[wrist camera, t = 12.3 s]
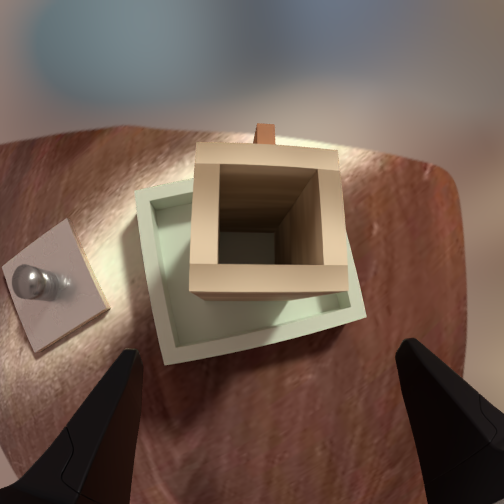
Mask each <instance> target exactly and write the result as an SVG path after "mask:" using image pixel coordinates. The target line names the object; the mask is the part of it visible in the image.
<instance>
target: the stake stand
mask: <svg viewBox="0 0 504 504" xmlns="http://www.w3.org/2000/svg"><path fill="white" fill-rule="evenodd" d="M2 269H3V272H4V275H5V278H6V282H7V285H8V288H9V291H10V293H11V296H12V299H13V302H14V305H15V307H16V310H17V313H18V315H19V318H20V320H21V323H22V325H23V328H24V330H25V332H26V335H27V337H28V339H29V341H30V344H31V346H32V348H33V350H34V352H35V353H36V352H41V351H42V350H44V349H46V348H47V347H49V346H50V345H52V344H54V343H55V342H57V341H58V340H60V339H62V338H63V337H65V336H66V335H68V334H70V333H71V332H73V331H74V330H76V329H78V328H79V327H81V326H82V325H84V324H86V323H87V322H89V321H91V320H92V319H94V318H95V317H97V316H99V315H100V314H102V313H104V312H105V311H107V310H109V309H110V308H111V307H110V305H109V303H108V301H107V299H106V297H105V295H104V293H103V291H102V289H101V287H100V285H99V283H98V281H97V279H96V276H95V274H94V272H93V270H92V268H91V266H90V263H89V261H88V259H87V256H86V254H85V252H84V250H83V247H82V245H81V242H80V240H79V238H78V235H77V233H76V230H75V228H74V225H73V222H72V221H71V220H69V219H68V218H66V219H65V220H63V221H62V222H61V223H59V224H58V225H56V226H55V227H53V228H52V229H51V230H49V231H48V232H46V233H45V234H44V235H42V236H41V237H40V238H38V239H37V240H36V241H34V242H33V243H32V244H30V245H29V246H28V247H26V248H25V249H24V250H22V251H21V252H20V253H19V254H17V255H16V256H15V257H14V258H12V259H11V260H10V261H9V262H7V263H6V264H5V265H4V266H2Z"/></svg>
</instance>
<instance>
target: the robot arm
mask: <svg viewBox="0 0 504 504" xmlns="http://www.w3.org/2000/svg"><path fill="white" fill-rule="evenodd" d="M395 359H396V364H397V369H398V375H399V380H400V385H401V391H402V395H403V399H404V403H405V406H406V410H407V413H408V417H409V421H410V425H411V428H412V432H413V436H414V440H415V444H416V449H417V453H418V457H419V462H420V466H421V471H422V476H423V480H424V484H425V485H424V486H425V491H426V497H427V502H428V504H504V414H503V413H502V412H501V411H500V410H498V409H497V408H496V407H494V406H493V405H492V404H491V403H490V402H489V401H487V400H486V399H485V398H484V397H483V396H482V395H480V394H479V393H478V392H477V391H476V390H475V389H474V388H473V387H472V386H470V385H469V384H468V383H467V382H466V381H465V380H464V379H462V378H461V377H460V376H459V375H458V374H457V373H456V372H454V371H453V370H452V369H451V368H450V367H449V366H447V365H446V364H445V363H444V362H443V361H442V360H440V359H439V358H438V357H437V356H436V355H435V354H433V353H432V352H431V351H430V350H429V349H427V348H426V347H425V346H424V345H423V344H422V343H420V342H419V341H418V340H417V339H415V338H407V339H404V340H403V342H402V343H401V345H400V347H399V348H398V350H397V352H396V355H395ZM142 383H143V363H142V360H141V357H140V354H139V351H138V350H137V349H130V348H126V349H124V350H123V352H122V353H121V354H120V355H119V357H118V358H117V359H116V360H115V362H114V363H113V364H112V366H111V367H110V368H109V369H108V371H107V372H106V373H105V375H104V376H103V377H102V378H101V380H100V381H99V382H98V384H97V385H96V386H95V387H94V389H93V390H92V391H91V393H90V394H89V395H88V397H87V398H86V399H85V401H84V402H83V403H82V405H81V406H80V407H79V409H78V410H77V411H76V413H75V414H74V415H73V417H72V418H71V419H70V421H69V422H68V423H67V427H66V426H65V427H64V429H63V430H62V431H61V433H60V434H59V435H58V437H57V438H56V439H55V441H54V442H53V443H52V444H51V446H50V447H49V448H48V449H47V450H46V451H45V452H44V454H43V455H42V456H41V457H40V458H39V459H38V460H37V461H36V462H35V463H34V464H33V465H32V467H31V468H30V469H29V470H28V471H27V472H26V473H25V474H24V475H23V476H22V477H21V478H20V479H19V480H18V481H16V482H15V483H13V484H11V485H9V486H7V487H4V488H1V489H0V504H129V503H130V492H131V483H132V474H133V465H134V457H135V450H136V443H137V436H138V429H139V422H140V416H141V404H142Z"/></svg>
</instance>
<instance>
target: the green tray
mask: <svg viewBox="0 0 504 504" xmlns="http://www.w3.org/2000/svg"><path fill="white" fill-rule="evenodd" d="M193 182H194V178H192V179H187V180H182V181H177V182H172V183H167V184H163V185H158V186H154V187H149V188H145V189H140V190H136V191H135V201H136V210H137V218H138V226H139V234H140V241H141V248H142V255H143V262H144V268H145V274H146V280H147V286H148V291H149V297H150V302H151V307H152V312H153V317H154V322H155V327H156V331H157V336H158V340H159V345H160V349H161V353H162V357H163V362H164V365H170V364H176V363H182V362H188V361H193V360H199V359H204V358H209V357H214V356H219V355H224V354H229V353H233V352H238V351H242V350H247V349H251V348H256V347H260V346H264V345H268V344H273V343H277V342H281V341H285V340H289V339H292V338H296V337H300V336H304V335H307V334H311V333H315V332H318V331H322V330H325V329H329V328H332V327H336V326H339V325H342V324H346V323H349V322H352V321H356V320H359V319H362V318H365V317H366V312H365V307H364V303H363V298H362V294H361V289H360V285H359V281H358V277H357V272H356V268H355V264H354V260H353V256H352V253H351V249H350V245H349V241H348V237H347V234H346V243H347V260H348V283H349V291H345V292H339V293H334V294H328V295H322V296H316V297H310V298H304V299H298V300H291V301H204V300H203V299H201V298H199V297H198V296H196V295H194V294H193V293H191V292H190V291H189V269H190V239H191V217H192V198H193ZM219 264H252V265H275V253H274V233H251V232H220V250H219Z"/></svg>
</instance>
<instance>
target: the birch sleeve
mask: <svg viewBox="0 0 504 504" xmlns="http://www.w3.org/2000/svg"><path fill="white" fill-rule="evenodd" d="M220 232H251V233H274V253H275V265H252V264H219V250H220ZM189 291H190V292H191V293H193V294H194V295H196V296H198V297H199V298H201V299H203V300H204V301H291V300H298V299H304V298H310V297H316V296H322V295H328V294H334V293H339V292H345V291H349V283H348V260H347V243H346V229H345V216H344V205H343V194H342V184H341V175H340V167H339V159H338V151H337V150H329V149H320V148H309V147H298V146H285V145H275V126H274V124H259V123H258V124H257V127H256V132H255V136H254V141H253V144H252V143H222V142H197V143H196V155H195V168H194V182H193V198H192V217H191V239H190V269H189Z"/></svg>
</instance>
